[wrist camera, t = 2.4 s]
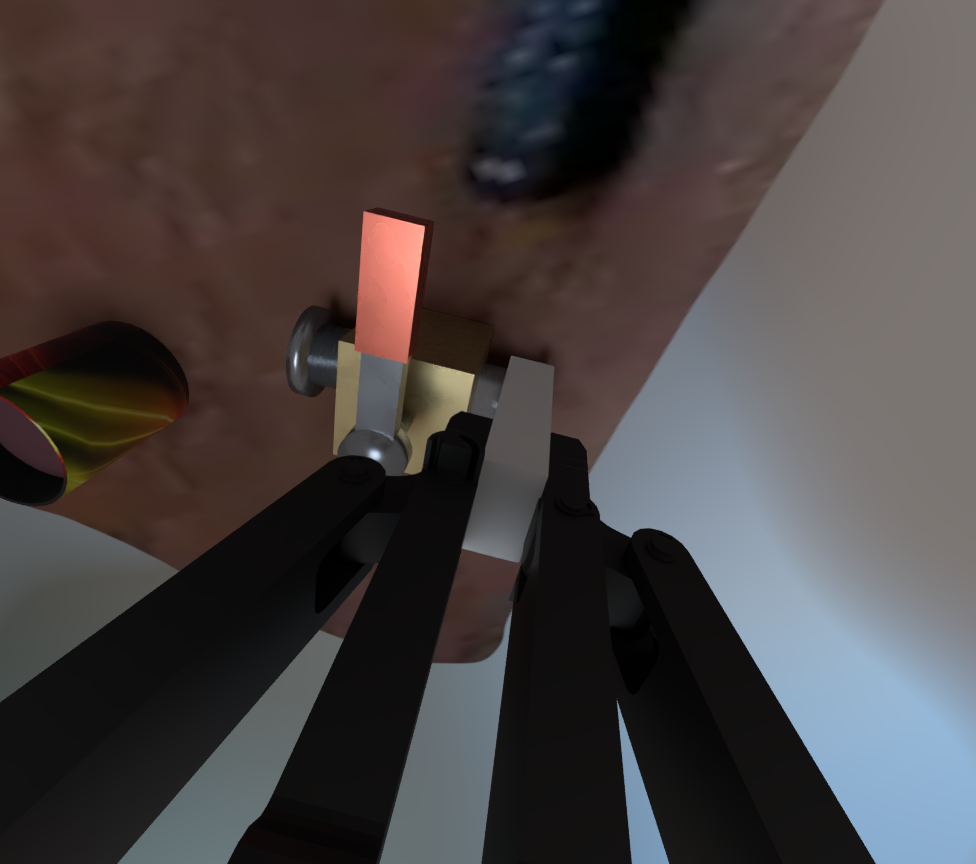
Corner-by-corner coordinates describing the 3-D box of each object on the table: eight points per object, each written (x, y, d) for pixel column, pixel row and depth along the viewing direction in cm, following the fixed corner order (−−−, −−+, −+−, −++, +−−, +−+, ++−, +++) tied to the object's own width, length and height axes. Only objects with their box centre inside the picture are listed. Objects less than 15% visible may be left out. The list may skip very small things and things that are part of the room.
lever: (422, 451, 30) (399, 496, 26) (366, 436, 30) (335, 480, 26) (460, 216, 23) (438, 229, 19) (387, 198, 23) (350, 208, 19)
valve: (325, 381, 39) (267, 437, 32) (328, 284, 35) (262, 321, 28) (527, 432, 39) (518, 501, 32) (554, 341, 35) (551, 394, 27)
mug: (74, 424, 46) (-69, 503, 35) (83, 298, 39) (-90, 351, 29) (172, 472, 47) (61, 562, 37) (198, 358, 40) (71, 429, 30)
